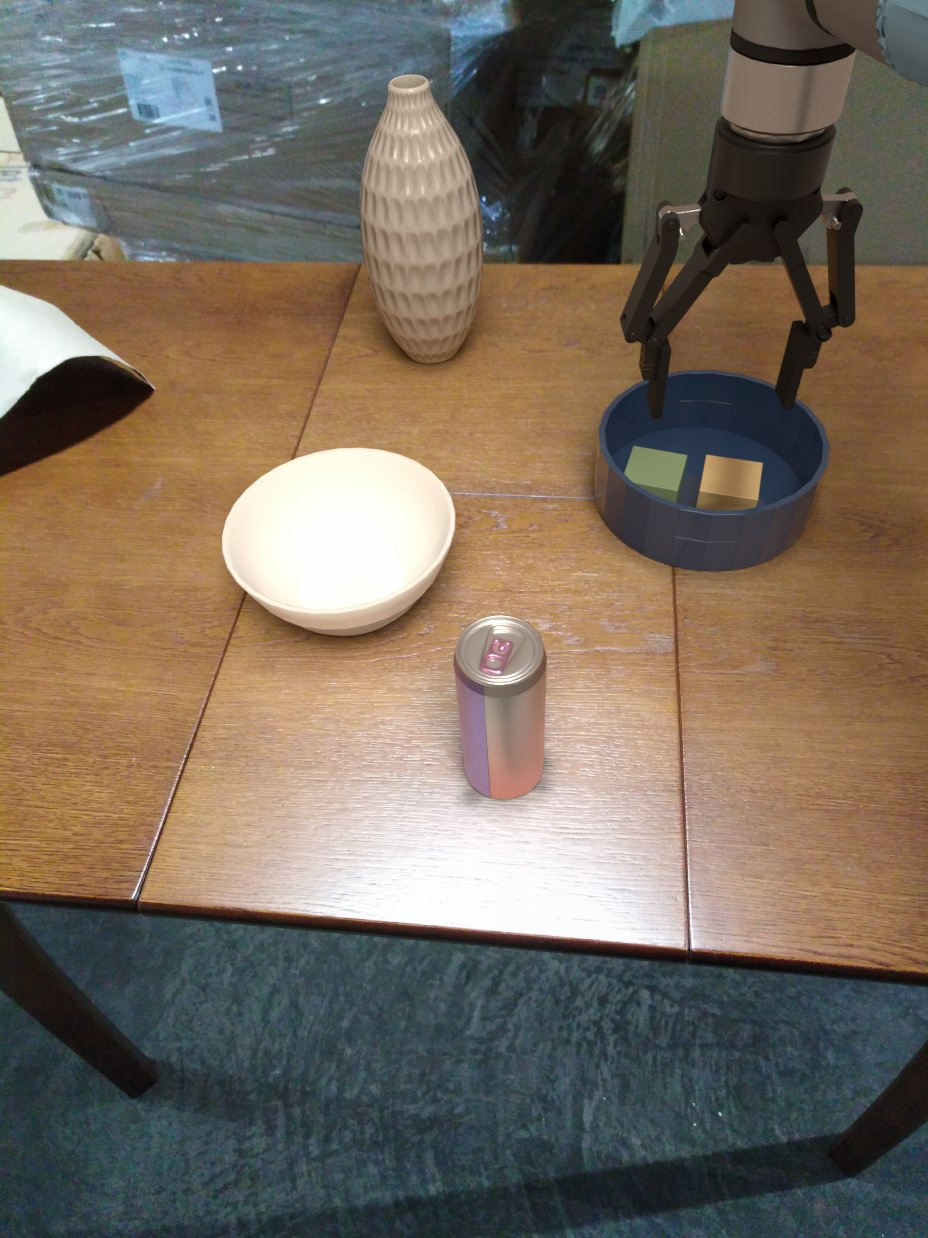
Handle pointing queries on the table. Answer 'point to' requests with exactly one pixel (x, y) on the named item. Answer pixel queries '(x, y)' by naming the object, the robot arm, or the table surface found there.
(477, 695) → the beverage can
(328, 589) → the bowl
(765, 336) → the table surface
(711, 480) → the beech block
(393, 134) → the vase
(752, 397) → the navy round tub
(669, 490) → the sage block
